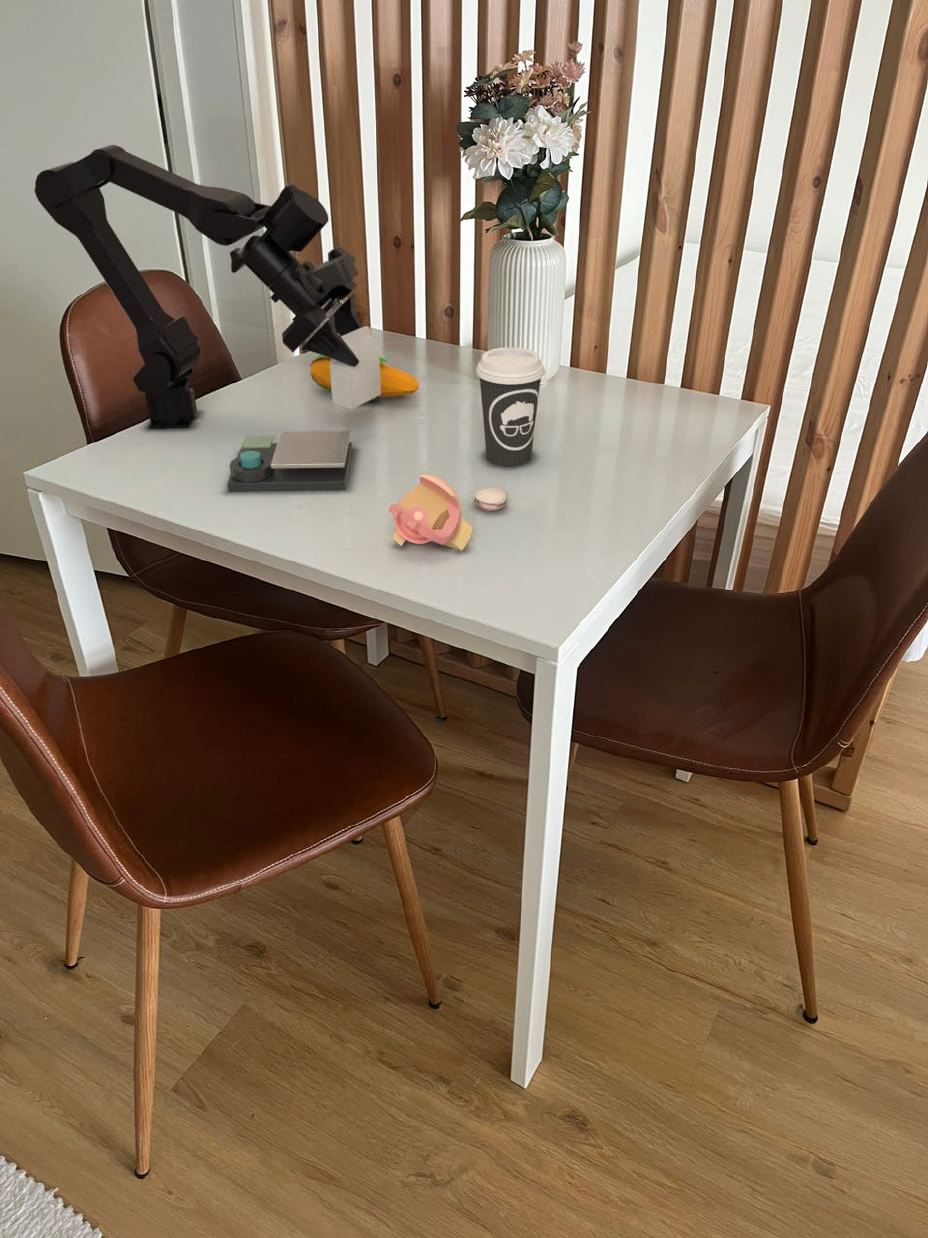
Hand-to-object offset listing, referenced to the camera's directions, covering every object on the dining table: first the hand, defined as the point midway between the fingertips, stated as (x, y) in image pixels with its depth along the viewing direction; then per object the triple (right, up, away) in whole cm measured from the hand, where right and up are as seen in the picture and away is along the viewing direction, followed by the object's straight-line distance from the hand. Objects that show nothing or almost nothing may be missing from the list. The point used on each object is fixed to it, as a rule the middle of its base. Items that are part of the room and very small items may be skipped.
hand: (363, 355), depth 144 cm
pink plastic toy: (+11, -29, -19) cm, 36 cm away
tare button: (-15, -17, -6) cm, 23 cm away
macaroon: (+18, -23, -10) cm, 31 cm away
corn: (-2, -1, +22) cm, 22 cm away
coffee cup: (+21, -14, +2) cm, 25 cm away
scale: (-10, -17, -1) cm, 20 cm away
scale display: (-15, -13, -1) cm, 20 cm away
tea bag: (-1, -5, +4) cm, 7 cm away
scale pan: (-7, -14, -3) cm, 16 cm away
